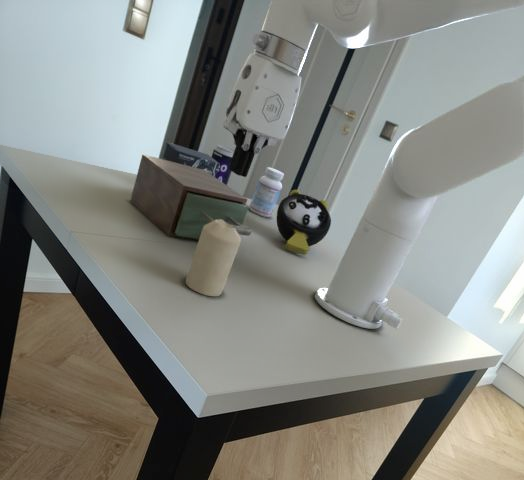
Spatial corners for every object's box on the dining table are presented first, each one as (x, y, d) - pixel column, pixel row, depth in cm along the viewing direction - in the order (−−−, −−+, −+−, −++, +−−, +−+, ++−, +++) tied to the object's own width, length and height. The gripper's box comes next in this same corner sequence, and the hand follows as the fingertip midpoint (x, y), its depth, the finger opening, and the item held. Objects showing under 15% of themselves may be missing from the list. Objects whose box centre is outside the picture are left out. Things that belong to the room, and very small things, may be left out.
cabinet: (231, 244, 98) (247, 199, 94) (168, 236, 88) (184, 185, 84) (190, 212, 107) (204, 169, 103) (130, 201, 97) (142, 154, 93)
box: (163, 199, 108) (177, 150, 103) (152, 188, 112) (165, 140, 108) (206, 208, 114) (221, 163, 110) (193, 198, 119) (207, 153, 114)
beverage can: (197, 190, 127) (212, 141, 122) (217, 195, 130) (232, 149, 125) (204, 197, 123) (220, 148, 118) (224, 203, 126) (241, 155, 121)
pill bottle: (257, 208, 135) (272, 167, 130) (274, 218, 133) (291, 176, 128) (244, 207, 130) (259, 164, 125) (262, 217, 128) (278, 174, 123)
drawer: (254, 258, 92) (268, 221, 89) (196, 252, 83) (210, 210, 80) (196, 213, 104) (207, 178, 101) (140, 203, 96) (150, 164, 92)
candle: (228, 296, 75) (252, 233, 70) (201, 297, 70) (225, 230, 66) (205, 278, 77) (226, 216, 73) (177, 278, 73) (198, 213, 69)
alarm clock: (257, 252, 114) (262, 183, 112) (299, 258, 124) (304, 195, 122) (297, 253, 105) (304, 178, 104) (338, 259, 116) (345, 192, 114)
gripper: (257, 41, 70) (213, 172, 77) (327, 78, 80) (281, 190, 88) (227, 30, 74) (189, 155, 82) (297, 66, 84) (257, 174, 92)
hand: (237, 173), depth 85 cm, fingers closed
